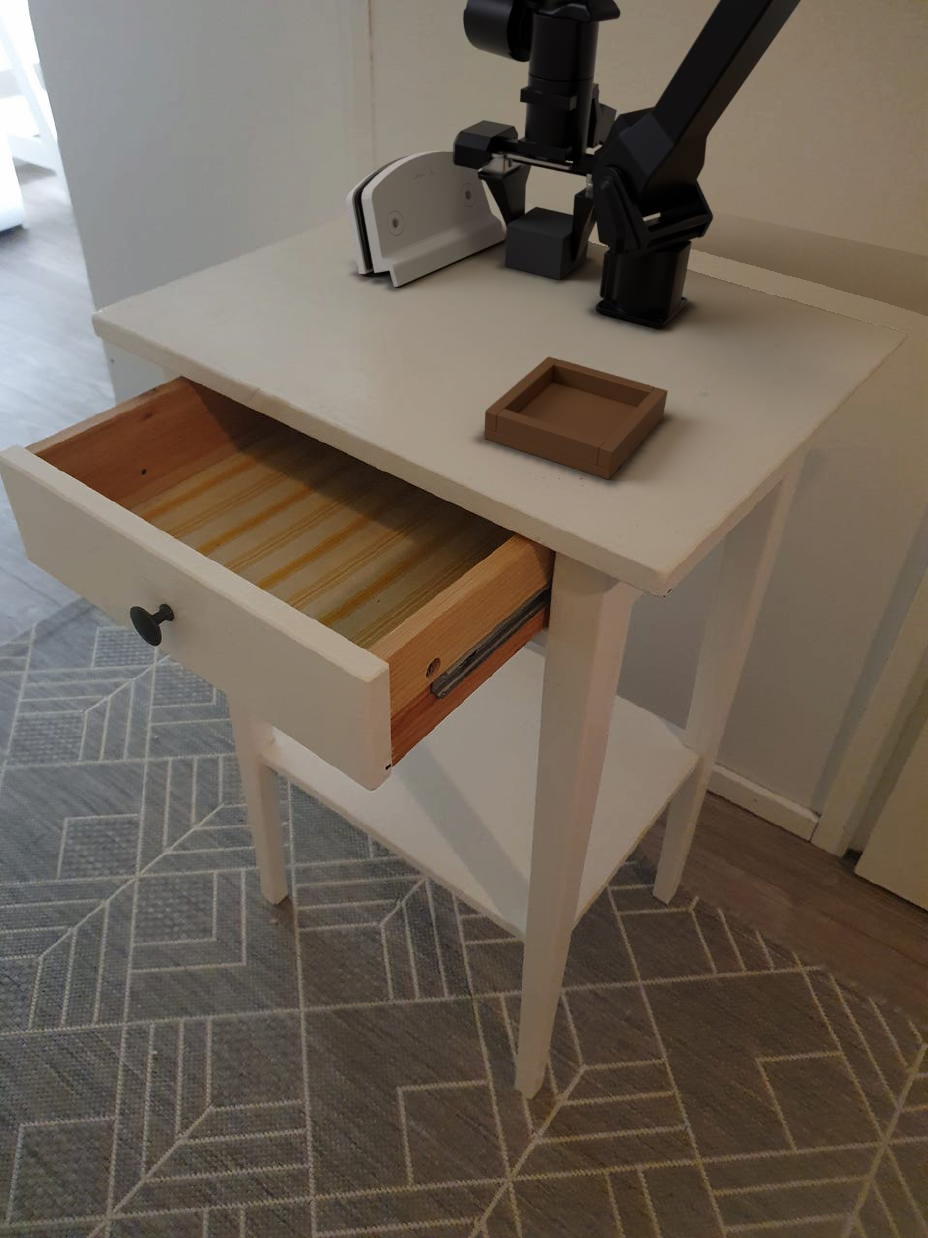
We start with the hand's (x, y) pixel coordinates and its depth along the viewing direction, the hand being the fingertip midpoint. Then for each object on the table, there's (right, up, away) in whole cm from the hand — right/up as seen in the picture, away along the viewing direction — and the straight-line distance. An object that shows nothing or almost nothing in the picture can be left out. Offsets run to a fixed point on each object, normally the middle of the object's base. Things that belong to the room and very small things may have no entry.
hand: (546, 252), depth 94 cm
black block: (0, -1, +1) cm, 1 cm away
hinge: (-12, +1, +2) cm, 12 cm away
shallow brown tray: (0, -22, -22) cm, 31 cm away
